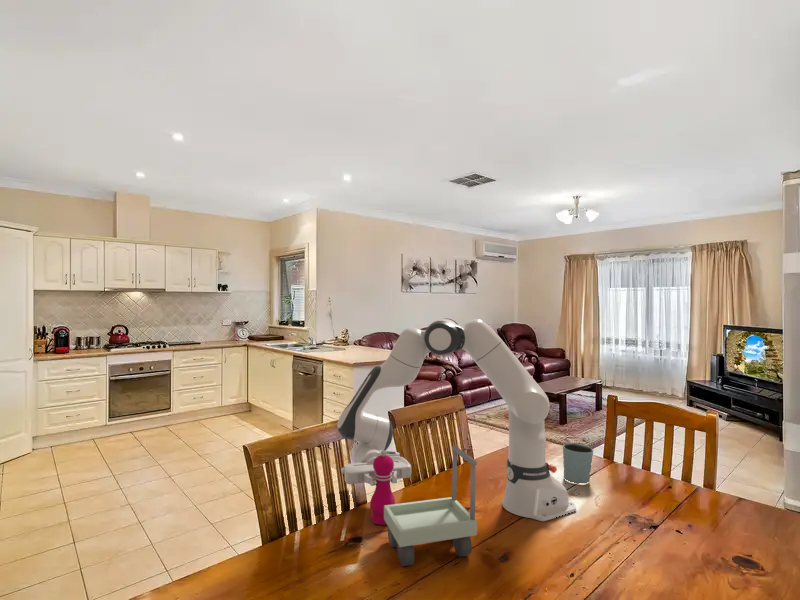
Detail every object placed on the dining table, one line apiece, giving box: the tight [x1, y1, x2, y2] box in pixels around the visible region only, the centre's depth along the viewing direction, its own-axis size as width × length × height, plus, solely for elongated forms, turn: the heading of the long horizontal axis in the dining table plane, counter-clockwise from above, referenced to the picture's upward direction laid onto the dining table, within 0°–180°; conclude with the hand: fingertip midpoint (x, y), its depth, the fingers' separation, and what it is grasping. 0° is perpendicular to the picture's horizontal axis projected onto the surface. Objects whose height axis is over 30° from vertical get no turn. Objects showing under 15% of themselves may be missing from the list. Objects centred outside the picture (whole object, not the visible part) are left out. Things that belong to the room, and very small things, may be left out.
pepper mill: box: [369, 450, 396, 526], centre depth 128 cm, size 7×7×20 cm
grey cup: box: [562, 443, 594, 483], centre depth 160 cm, size 10×10×12 cm
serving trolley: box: [384, 444, 478, 567], centre depth 114 cm, size 20×14×24 cm
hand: (384, 481), depth 127 cm, fingers closed on pepper mill, 5 cm apart
